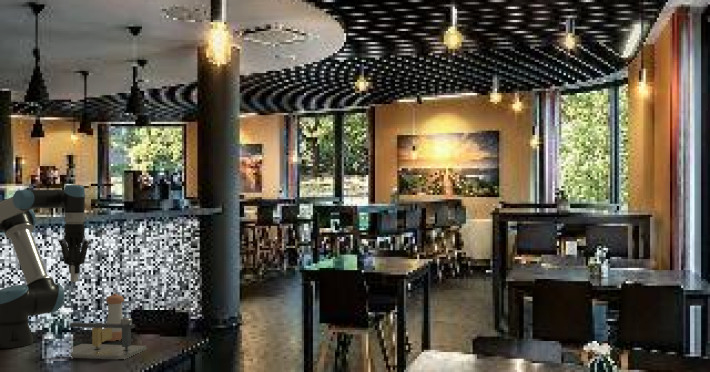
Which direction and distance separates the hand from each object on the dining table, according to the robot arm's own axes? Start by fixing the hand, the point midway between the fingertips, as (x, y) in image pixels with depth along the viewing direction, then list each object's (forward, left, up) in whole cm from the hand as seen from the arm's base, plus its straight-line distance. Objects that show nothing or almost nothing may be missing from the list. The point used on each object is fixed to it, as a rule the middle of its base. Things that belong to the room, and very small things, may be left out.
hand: (74, 281), depth 271 cm
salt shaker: (+11, +12, -26) cm, 31 cm away
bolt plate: (+20, -12, -26) cm, 34 cm away
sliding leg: (+17, -8, -24) cm, 30 cm away
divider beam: (+20, -12, -24) cm, 33 cm away
